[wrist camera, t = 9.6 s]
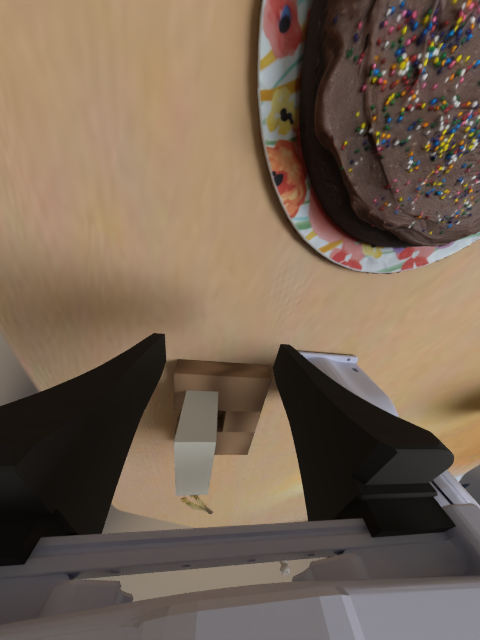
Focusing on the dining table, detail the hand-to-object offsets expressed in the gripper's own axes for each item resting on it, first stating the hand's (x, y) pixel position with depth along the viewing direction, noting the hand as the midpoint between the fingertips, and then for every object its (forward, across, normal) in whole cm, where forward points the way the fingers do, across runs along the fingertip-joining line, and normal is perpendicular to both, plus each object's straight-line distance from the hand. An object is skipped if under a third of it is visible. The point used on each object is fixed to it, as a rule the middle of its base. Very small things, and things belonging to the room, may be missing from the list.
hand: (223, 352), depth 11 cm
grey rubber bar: (+7, +2, +18) cm, 19 cm away
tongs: (+10, 0, +56) cm, 57 cm away
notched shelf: (+9, -1, +18) cm, 20 cm away
